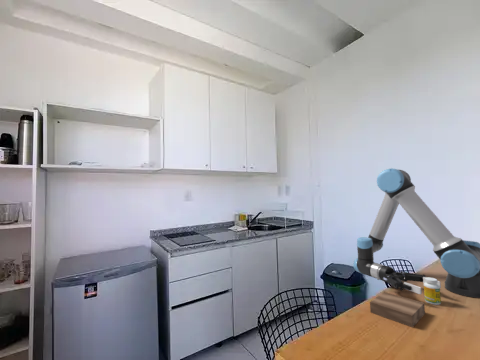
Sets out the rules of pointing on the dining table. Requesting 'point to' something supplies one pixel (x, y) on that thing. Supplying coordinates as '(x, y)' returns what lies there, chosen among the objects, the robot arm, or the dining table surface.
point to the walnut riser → (398, 308)
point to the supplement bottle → (432, 291)
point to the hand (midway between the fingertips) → (430, 287)
